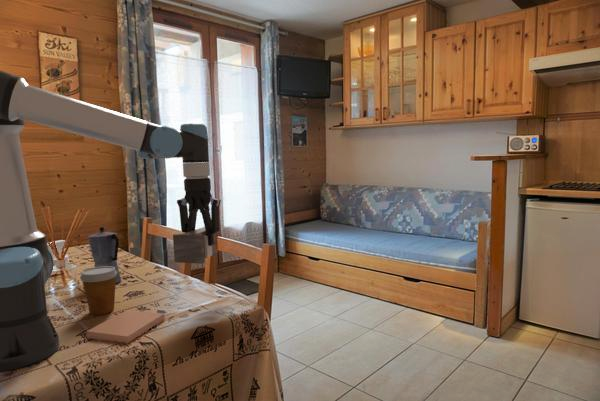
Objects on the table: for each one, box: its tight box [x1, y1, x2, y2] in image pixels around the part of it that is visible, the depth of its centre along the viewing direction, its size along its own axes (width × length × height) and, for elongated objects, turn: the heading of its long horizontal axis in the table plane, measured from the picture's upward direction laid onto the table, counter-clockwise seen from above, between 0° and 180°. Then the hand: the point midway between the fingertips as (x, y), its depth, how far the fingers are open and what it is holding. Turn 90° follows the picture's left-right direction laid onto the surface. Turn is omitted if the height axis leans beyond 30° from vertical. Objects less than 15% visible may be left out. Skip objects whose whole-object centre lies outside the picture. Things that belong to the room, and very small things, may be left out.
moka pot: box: [87, 226, 122, 285], centre depth 141 cm, size 10×15×20 cm, turn 62°
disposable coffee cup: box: [79, 266, 117, 316], centre depth 115 cm, size 10×10×12 cm
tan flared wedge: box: [172, 226, 219, 265], centre depth 119 cm, size 13×9×8 cm
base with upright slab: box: [47, 239, 70, 265], centre depth 157 cm, size 9×9×12 cm
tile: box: [86, 309, 166, 344], centre depth 103 cm, size 2×12×14 cm
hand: (201, 255), depth 120 cm, fingers closed on tan flared wedge, 4 cm apart
